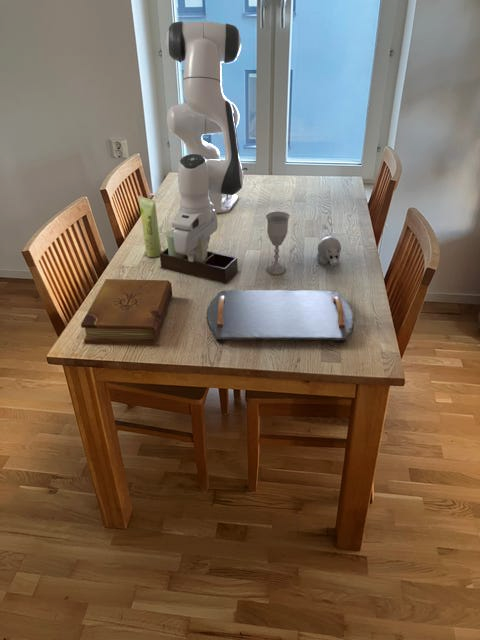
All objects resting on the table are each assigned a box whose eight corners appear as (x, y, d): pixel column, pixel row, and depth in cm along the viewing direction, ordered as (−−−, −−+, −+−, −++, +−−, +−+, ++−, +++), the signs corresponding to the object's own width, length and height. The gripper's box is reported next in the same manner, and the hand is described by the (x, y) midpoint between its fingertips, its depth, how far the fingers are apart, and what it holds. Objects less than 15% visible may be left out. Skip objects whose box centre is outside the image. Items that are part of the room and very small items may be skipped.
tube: (143, 258, 171) (136, 201, 160) (145, 250, 175) (138, 195, 164) (161, 257, 171) (154, 200, 160) (162, 250, 175) (156, 194, 164)
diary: (157, 345, 132) (155, 326, 128) (84, 343, 133) (80, 324, 129) (172, 297, 151) (170, 279, 147) (108, 295, 152) (105, 278, 148)
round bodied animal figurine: (321, 275, 160) (323, 250, 155) (314, 257, 170) (316, 233, 165) (344, 274, 160) (347, 249, 156) (336, 256, 170) (339, 232, 165)
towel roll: (175, 259, 170) (172, 228, 163) (190, 263, 167) (188, 231, 161) (166, 267, 165) (163, 235, 159) (181, 270, 163) (178, 238, 157)
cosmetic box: (203, 275, 161) (201, 239, 154) (189, 274, 162) (187, 238, 155) (208, 265, 166) (206, 230, 159) (195, 264, 167) (192, 229, 160)
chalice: (276, 262, 167) (277, 209, 157) (292, 269, 163) (294, 215, 153) (260, 270, 163) (260, 216, 153) (276, 278, 159) (278, 223, 149)
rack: (174, 257, 171) (173, 243, 168) (237, 271, 162) (237, 257, 160) (161, 268, 165) (159, 253, 162) (225, 283, 156) (225, 269, 154)
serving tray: (203, 347, 131) (202, 326, 127) (210, 297, 150) (209, 279, 146) (359, 348, 130) (362, 327, 126) (345, 298, 149) (348, 279, 145)
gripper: (203, 199, 162) (205, 239, 170) (168, 224, 147) (172, 267, 154) (221, 202, 159) (223, 243, 167) (187, 228, 144) (190, 271, 152)
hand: (198, 255), depth 161 cm, fingers closed on cosmetic box, 7 cm apart
